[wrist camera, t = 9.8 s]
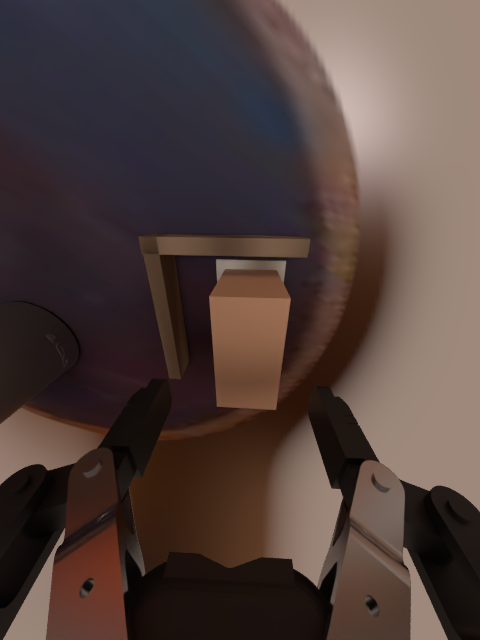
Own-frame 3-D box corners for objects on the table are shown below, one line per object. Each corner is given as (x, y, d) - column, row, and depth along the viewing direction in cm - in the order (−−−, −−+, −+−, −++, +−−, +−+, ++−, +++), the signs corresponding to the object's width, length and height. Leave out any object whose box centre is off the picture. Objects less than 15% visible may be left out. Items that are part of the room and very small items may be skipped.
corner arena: (178, 359, 22) (168, 378, 20) (157, 233, 16) (138, 236, 14) (282, 364, 22) (286, 384, 19) (300, 236, 16) (310, 239, 13)
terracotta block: (225, 268, 17) (209, 296, 11) (276, 269, 17) (290, 298, 11) (227, 351, 21) (217, 406, 15) (269, 353, 21) (275, 409, 15)
